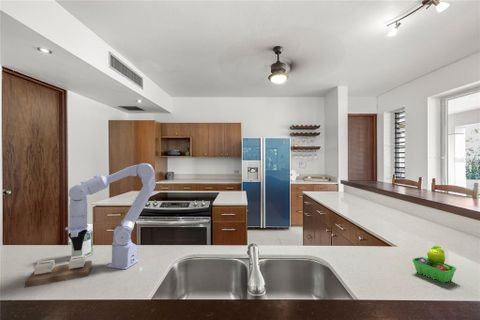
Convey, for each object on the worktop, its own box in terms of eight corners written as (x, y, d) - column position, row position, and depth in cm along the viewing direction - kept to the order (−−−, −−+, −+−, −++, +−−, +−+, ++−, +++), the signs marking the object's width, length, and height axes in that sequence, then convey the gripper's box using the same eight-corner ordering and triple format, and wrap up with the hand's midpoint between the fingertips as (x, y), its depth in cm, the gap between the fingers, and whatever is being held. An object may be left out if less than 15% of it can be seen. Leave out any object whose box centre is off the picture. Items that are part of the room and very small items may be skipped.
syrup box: (81, 259, 98) (82, 226, 98) (70, 258, 99) (71, 225, 100) (92, 254, 104) (93, 223, 104) (82, 253, 105) (82, 222, 105)
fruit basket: (411, 271, 89) (410, 243, 90) (424, 267, 93) (423, 240, 93) (446, 286, 79) (446, 254, 79) (459, 281, 82) (459, 250, 83)
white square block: (85, 261, 90) (85, 254, 90) (83, 266, 86) (83, 259, 86) (71, 263, 88) (71, 256, 88) (68, 268, 84) (68, 261, 84)
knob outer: (54, 266, 85) (54, 259, 86) (50, 271, 81) (50, 264, 81) (39, 269, 83) (39, 261, 83) (34, 274, 79) (34, 266, 79)
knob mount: (91, 265, 93) (91, 255, 93) (87, 275, 84) (87, 265, 84) (35, 274, 85) (35, 263, 85) (24, 287, 76) (24, 275, 76)
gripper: (70, 212, 92) (69, 245, 92) (60, 220, 79) (59, 259, 79) (90, 210, 95) (90, 242, 95) (84, 218, 82) (84, 255, 82)
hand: (77, 250), depth 87 cm, fingers closed
